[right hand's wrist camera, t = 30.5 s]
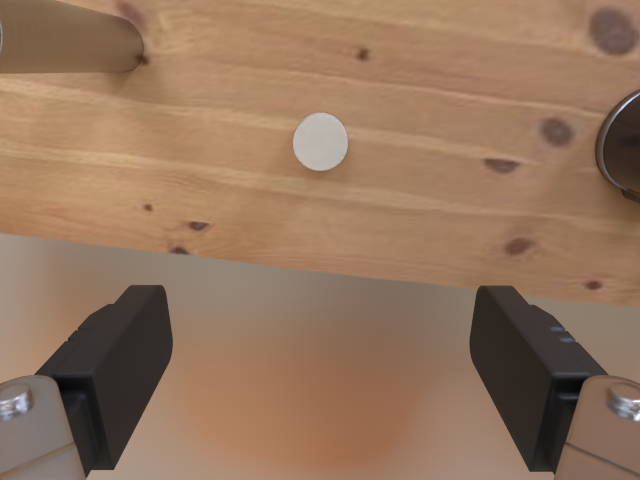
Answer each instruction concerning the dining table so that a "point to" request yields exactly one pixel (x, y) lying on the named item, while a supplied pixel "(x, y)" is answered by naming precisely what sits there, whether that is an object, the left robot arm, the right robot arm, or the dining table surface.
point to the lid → (320, 142)
